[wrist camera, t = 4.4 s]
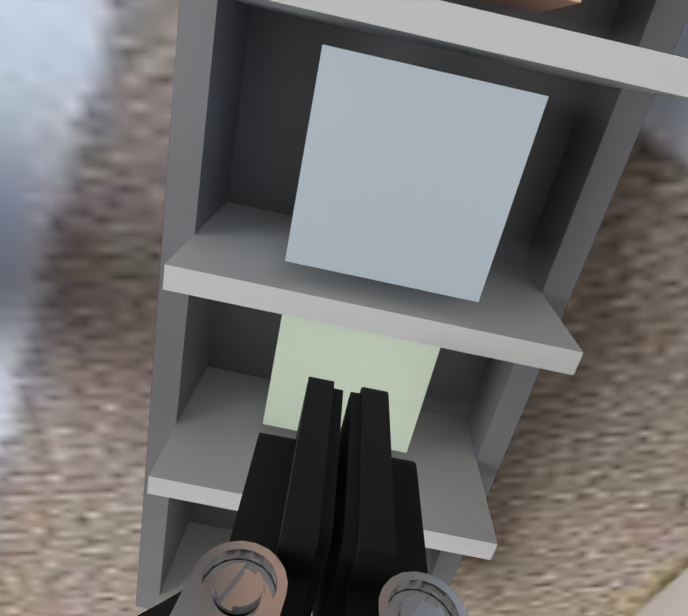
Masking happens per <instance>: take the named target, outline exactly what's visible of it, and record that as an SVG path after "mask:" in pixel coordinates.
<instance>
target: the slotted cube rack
mask: <svg viewBox="0 0 688 616" xmlns="http://www.w3.org/2000/svg"><path fill="white" fill-rule="evenodd" d="M687 16H688V0H582V1H581V3H578V4H574V5H570V6H566V7H562V8H558V9H554V10H549V11H545V12H541V13H537V14H535V13H531V12H527V11H523V10H519V9H514V8H510V7H506V6H502V5H497V4H493V3H489V2H485V1H480V0H180V1H179V15H178V29H177V43H176V56H175V70H174V84H173V98H172V112H171V125H170V139H169V153H168V167H167V181H166V194H165V208H164V222H163V236H162V250H161V263H160V277H159V291H158V305H157V319H156V333H155V346H154V360H153V374H152V388H151V402H150V415H149V429H148V443H147V457H146V471H145V484H144V498H143V512H142V526H141V540H140V553H139V567H138V581H137V595H136V606H139V607H144V608H152V607H154V606H156V605H157V604H159V603H161V602H163V601H165V600H166V599H168V598H170V597H172V596H173V595H175V594H177V593H179V592H180V591H182V590H183V589H184V587H185V585H186V583H187V581H188V579H189V577H190V575H191V573H192V571H193V569H194V567H195V566H196V564H197V563H198V562H199V560H200V559H201V558H202V556H203V555H204V554H206V553H207V552H208V551H210V550H211V549H212V548H214V547H216V546H218V545H221V544H224V543H226V542H229V541H230V537H231V534H232V530H233V526H234V523H235V519H236V515H237V512H238V508H239V504H240V501H241V497H242V493H243V490H244V486H245V482H246V479H247V475H248V471H249V468H250V464H251V460H252V457H253V453H254V449H255V446H256V442H257V439H258V435H259V433H260V432H261V433H266V434H272V435H277V436H282V437H287V438H293V439H296V434H297V431H295V430H290V429H285V428H280V427H275V426H270V425H265V424H263V419H264V414H265V408H266V402H267V397H268V391H269V386H270V380H271V374H272V369H273V363H274V358H275V352H276V346H277V341H278V335H279V330H280V324H281V319H282V314H283V315H287V316H292V317H297V318H302V319H307V320H311V321H316V322H321V323H326V324H331V325H335V326H340V327H345V328H350V329H354V330H359V331H364V332H369V333H374V334H378V335H383V336H388V337H393V338H397V339H402V340H407V341H412V342H417V343H421V344H426V345H431V346H436V347H440V351H439V354H438V357H437V360H436V363H435V366H434V369H433V372H432V375H431V378H430V382H429V385H428V388H427V391H426V394H425V397H424V400H423V403H422V406H421V410H420V413H419V416H418V419H417V422H416V425H415V428H414V431H413V434H412V438H411V441H410V444H409V447H408V450H407V453H405V452H400V451H395V450H391V453H392V457H393V458H398V459H404V460H409V461H414V462H415V464H416V467H417V474H418V483H419V493H420V502H421V512H422V521H423V531H424V540H425V550H426V559H427V569H428V574H429V575H431V576H433V577H436V578H438V579H440V580H442V581H443V582H444V583H445V584H447V585H448V586H449V587H450V585H451V582H452V580H453V578H454V575H455V573H456V570H457V568H458V566H459V563H460V561H461V558H462V556H463V555H467V556H472V557H477V558H483V559H488V560H491V558H492V556H493V554H494V551H495V549H496V547H497V545H498V544H497V540H496V536H495V532H494V528H493V524H492V520H491V516H490V512H489V508H488V504H487V500H486V498H487V496H488V494H489V491H490V489H491V486H492V484H493V482H494V479H495V477H496V474H497V472H498V470H499V467H500V465H501V462H502V460H503V458H504V455H505V453H506V450H507V448H508V446H509V443H510V441H511V438H512V436H513V434H514V431H515V429H516V426H517V424H518V422H519V419H520V417H521V414H522V412H523V410H524V407H525V405H526V402H527V400H528V398H529V395H530V393H531V390H532V388H533V386H534V383H535V381H536V378H537V376H538V374H539V371H540V369H546V370H550V371H555V372H560V373H565V374H569V375H574V373H575V371H576V369H577V366H578V364H579V362H580V360H581V357H582V355H583V351H582V350H581V348H580V347H579V345H578V344H577V343H576V341H575V340H574V338H573V337H572V335H571V334H570V333H569V331H568V330H567V328H566V327H565V325H564V324H563V323H562V321H561V318H562V316H563V314H564V311H565V309H566V306H567V304H568V302H569V299H570V297H571V294H572V292H573V290H574V287H575V285H576V282H577V280H578V278H579V275H580V273H581V270H582V268H583V266H584V263H585V261H586V258H587V256H588V254H589V251H590V249H591V246H592V244H593V242H594V239H595V237H596V234H597V232H598V230H599V227H600V225H601V222H602V220H603V218H604V215H605V213H606V210H607V208H608V206H609V203H610V201H611V198H612V196H613V194H614V191H615V189H616V186H617V184H618V182H619V179H620V177H621V174H622V172H623V170H624V167H625V165H626V162H627V160H628V158H629V155H630V153H631V150H632V148H633V146H634V143H635V141H636V138H637V136H638V134H639V131H640V129H641V126H642V124H643V122H644V119H645V117H646V114H647V112H648V110H649V107H650V105H651V102H652V100H653V98H654V95H655V94H661V95H668V96H675V97H682V98H688V58H684V57H679V56H675V55H671V54H672V52H673V50H674V47H675V45H676V42H677V40H678V38H679V35H680V33H681V30H682V28H683V26H684V23H685V21H686V18H687ZM322 44H323V45H329V46H334V47H338V48H343V49H347V50H351V51H356V52H360V53H364V54H369V55H373V56H377V57H382V58H386V59H391V60H395V61H399V62H404V63H408V64H412V65H417V66H421V67H425V68H430V69H434V70H438V71H443V72H447V73H452V74H456V75H460V76H465V77H469V78H473V79H478V80H482V81H486V82H491V83H495V84H499V85H504V86H508V87H512V88H517V89H521V90H525V91H529V92H533V93H537V94H541V95H545V96H549V97H548V100H547V103H546V106H545V109H544V112H543V115H542V118H541V121H540V124H539V127H538V129H537V132H536V135H535V138H534V141H533V144H532V147H531V150H530V153H529V156H528V159H527V162H526V165H525V168H524V170H523V173H522V176H521V179H520V182H519V185H518V188H517V191H516V194H515V197H514V200H513V203H512V206H511V209H510V211H509V214H508V217H507V220H506V223H505V226H504V229H503V232H502V235H501V238H500V241H499V244H498V247H497V249H496V252H495V255H494V258H493V261H492V264H491V267H490V270H489V273H488V276H487V279H486V282H485V285H484V288H483V290H482V293H481V296H480V299H479V302H475V301H470V300H466V299H461V298H456V297H452V296H447V295H442V294H438V293H433V292H428V291H424V290H419V289H414V288H409V287H405V286H400V285H395V284H391V283H386V282H381V281H377V280H372V279H367V278H363V277H358V276H353V275H348V274H344V273H339V272H334V271H330V270H325V269H320V268H316V267H311V266H306V265H302V264H297V263H292V262H287V261H285V258H286V252H287V246H288V241H289V235H290V229H291V223H292V217H293V212H294V206H295V200H296V194H297V189H298V183H299V177H300V171H301V165H302V160H303V154H304V148H305V142H306V137H307V131H308V125H309V119H310V114H311V108H312V102H313V96H314V90H315V85H316V79H317V73H318V67H319V62H320V56H321V50H322Z"/></svg>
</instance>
